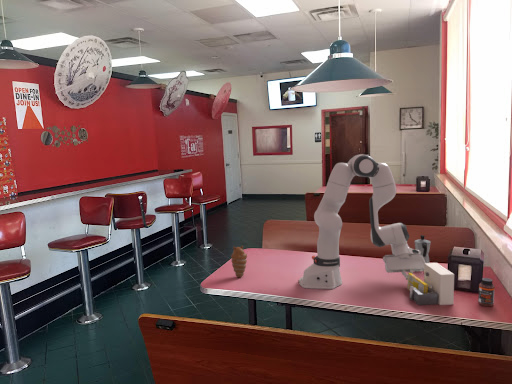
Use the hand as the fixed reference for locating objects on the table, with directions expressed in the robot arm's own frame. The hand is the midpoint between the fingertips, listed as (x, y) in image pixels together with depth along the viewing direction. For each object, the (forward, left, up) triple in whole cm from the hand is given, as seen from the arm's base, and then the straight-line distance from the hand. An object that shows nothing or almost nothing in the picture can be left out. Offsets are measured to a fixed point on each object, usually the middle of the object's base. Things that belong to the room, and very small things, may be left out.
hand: (409, 279), depth 193 cm
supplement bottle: (+25, -22, -5) cm, 34 cm away
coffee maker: (+20, +30, -5) cm, 36 cm away
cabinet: (+8, -13, -4) cm, 16 cm away
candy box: (0, -9, -5) cm, 10 cm away
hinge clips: (0, -15, -4) cm, 16 cm away
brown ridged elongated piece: (-85, +26, -5) cm, 89 cm away
